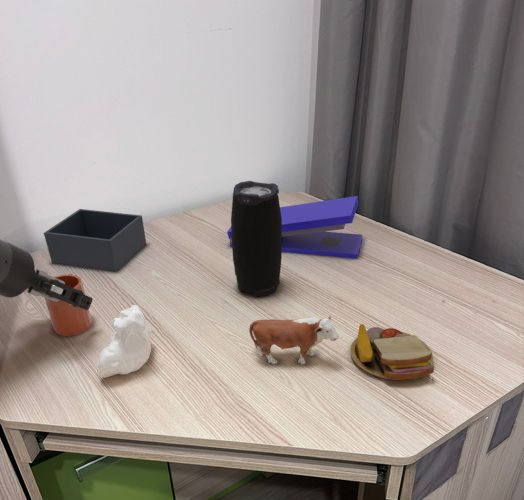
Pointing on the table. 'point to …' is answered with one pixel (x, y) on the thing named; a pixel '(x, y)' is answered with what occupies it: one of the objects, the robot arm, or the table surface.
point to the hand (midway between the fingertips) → (71, 297)
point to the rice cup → (68, 311)
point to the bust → (126, 344)
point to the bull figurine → (291, 335)
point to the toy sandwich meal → (391, 354)
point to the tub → (96, 240)
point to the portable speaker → (256, 237)
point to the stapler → (319, 228)
